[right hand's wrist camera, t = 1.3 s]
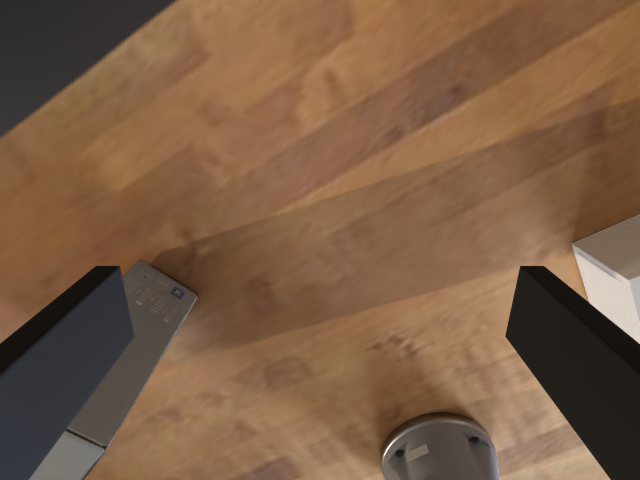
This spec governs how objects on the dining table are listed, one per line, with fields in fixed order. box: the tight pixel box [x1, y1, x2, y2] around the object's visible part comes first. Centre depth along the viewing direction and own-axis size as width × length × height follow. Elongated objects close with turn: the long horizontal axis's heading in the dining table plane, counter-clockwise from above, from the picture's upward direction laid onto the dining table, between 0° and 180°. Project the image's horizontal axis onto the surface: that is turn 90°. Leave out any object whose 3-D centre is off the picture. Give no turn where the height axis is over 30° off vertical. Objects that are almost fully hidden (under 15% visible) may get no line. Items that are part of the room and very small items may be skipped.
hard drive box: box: [29, 261, 198, 480], centre depth 36 cm, size 16×8×20 cm, turn 142°
